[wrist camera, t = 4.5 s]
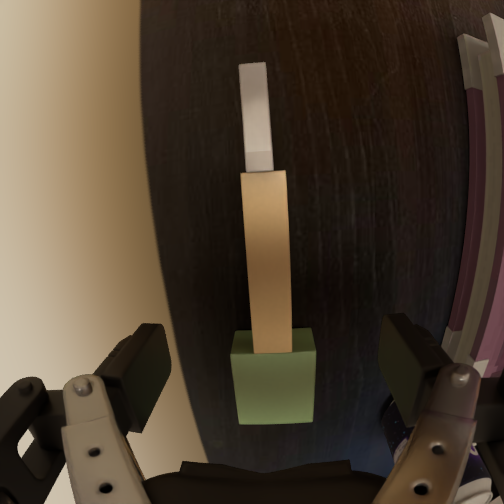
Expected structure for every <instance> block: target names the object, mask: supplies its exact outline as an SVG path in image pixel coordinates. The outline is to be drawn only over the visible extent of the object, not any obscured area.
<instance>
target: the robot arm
mask: <svg viewBox="0 0 504 504" xmlns="http://www.w3.org/2000/svg"><path fill="white" fill-rule="evenodd" d="M378 364H379V368H380V370H381V372H382V374H383V376H384V378H385V381H386V383H387V385H388V387H389V389H390V392H391V394H392V396H393V398H394V400H395V403H396V405H397V407H398V409H399V412H400V414H401V416H402V419H403V421H404V423H405V426H406V428H408V427H412V426H415V427H414V429H413V431H412V433H411V435H410V437H409V439H408V441H407V443H406V445H405V447H404V449H403V451H402V453H401V455H400V456H399V458H398V460H397V462H396V464H395V466H394V467H393V469H392V471H391V473H390V474H389V476H388V478H387V479H386V478H384V477H381V476H378V475H376V474H372V473H368V472H361V471H352V470H351V465H350V460H341V461H333V462H323V463H311V464H305V465H301V466H297V467H293V468H289V469H285V470H280V471H276V472H271V473H258V472H253V471H248V470H244V469H239V468H235V467H231V466H227V465H223V464H210V463H198V462H188V461H182V465H181V468H180V471H179V472H172V473H166V474H162V475H158V476H155V477H152V478H149V479H147V480H146V479H145V477H144V475H143V473H142V471H141V469H140V467H139V465H138V462H137V460H136V458H135V456H134V454H133V451H132V449H131V447H130V444H129V442H128V440H127V438H126V435H127V434H128V432H129V431H131V432H136V433H142V431H143V429H144V427H145V425H146V423H147V421H148V419H149V417H150V415H151V413H152V411H153V408H154V406H155V404H156V402H157V400H158V398H159V396H160V394H161V392H162V390H163V388H164V386H165V384H166V382H167V380H168V378H169V376H170V373H171V357H170V353H169V348H168V344H167V339H166V334H165V330H164V327H163V325H162V324H150V323H143V324H141V325H140V326H139V327H138V329H137V330H136V331H135V332H134V334H133V335H130V336H128V337H126V338H125V339H123V340H121V341H120V342H119V343H118V344H117V345H116V347H115V348H114V349H113V351H111V353H110V354H109V355H108V357H106V359H105V360H104V361H103V362H102V363H101V365H100V366H99V367H98V368H97V370H96V371H95V372H94V373H93V374H85V375H80V376H77V377H75V378H72V379H71V380H69V381H68V382H67V383H66V384H65V386H64V388H63V390H46V388H45V386H44V384H43V382H42V380H41V379H39V378H37V377H26V378H22V379H20V380H18V381H17V382H15V383H14V384H13V385H12V386H11V387H10V388H9V389H8V390H7V391H6V392H5V393H4V394H3V395H2V396H1V398H0V504H44V502H45V500H46V498H47V496H48V495H49V493H50V491H51V489H52V487H53V485H54V483H55V481H56V479H57V477H58V476H59V474H60V472H61V470H62V468H63V467H64V465H65V463H67V468H68V473H69V478H70V482H71V487H72V491H73V494H74V499H75V503H76V504H453V502H454V500H455V497H456V494H457V491H458V489H459V486H460V483H461V480H462V477H463V474H464V470H465V467H466V464H467V461H468V457H469V453H470V450H471V446H472V443H476V444H477V446H478V448H479V450H480V452H481V454H482V456H483V459H484V461H485V463H486V465H487V467H488V469H489V472H490V474H491V476H492V478H493V481H494V483H495V485H496V487H497V490H498V492H499V495H500V497H501V499H502V502H503V504H504V368H503V371H502V373H501V376H500V377H489V378H481V376H480V373H479V372H478V371H477V370H476V369H475V368H474V367H472V366H470V365H467V364H464V363H454V362H453V361H452V359H451V358H450V357H449V356H448V354H447V353H446V352H445V351H444V349H443V348H442V347H441V346H440V345H439V343H438V342H437V341H436V340H435V339H434V337H433V336H432V335H431V334H430V333H429V331H428V330H426V329H425V328H423V327H421V326H419V325H417V324H415V325H413V324H412V322H411V321H410V320H409V319H408V317H407V316H406V315H405V314H404V313H398V314H389V315H384V316H383V318H382V323H381V332H380V341H379V348H378ZM27 429H29V431H30V432H31V434H32V435H33V437H34V440H33V442H32V443H31V445H30V446H29V448H28V449H27V451H26V452H25V454H24V455H23V457H22V458H21V457H20V456H19V454H18V450H17V446H18V442H19V440H20V439H21V437H22V436H23V435H24V433H25V432H26V431H27Z"/></svg>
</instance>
